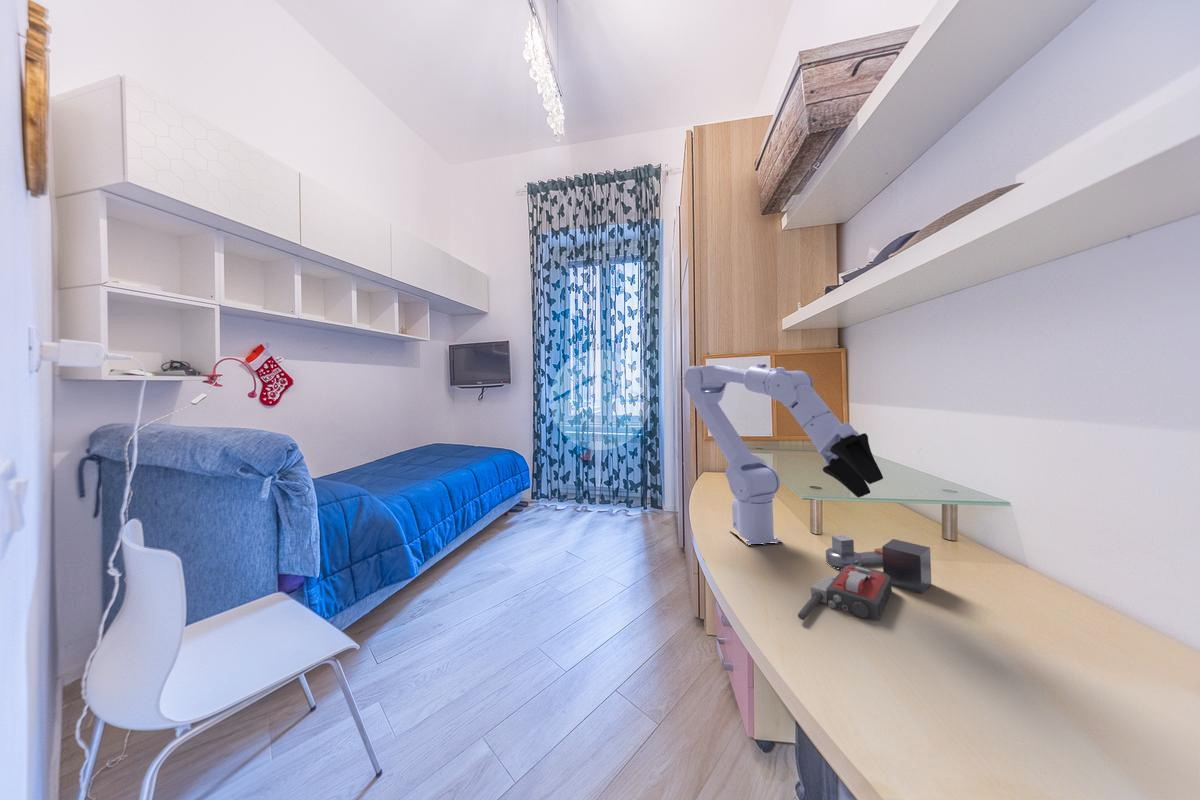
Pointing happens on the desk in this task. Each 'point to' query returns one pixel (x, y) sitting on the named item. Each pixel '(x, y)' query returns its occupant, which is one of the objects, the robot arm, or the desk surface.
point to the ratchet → (850, 554)
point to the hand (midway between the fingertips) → (870, 488)
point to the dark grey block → (907, 565)
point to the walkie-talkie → (852, 592)
